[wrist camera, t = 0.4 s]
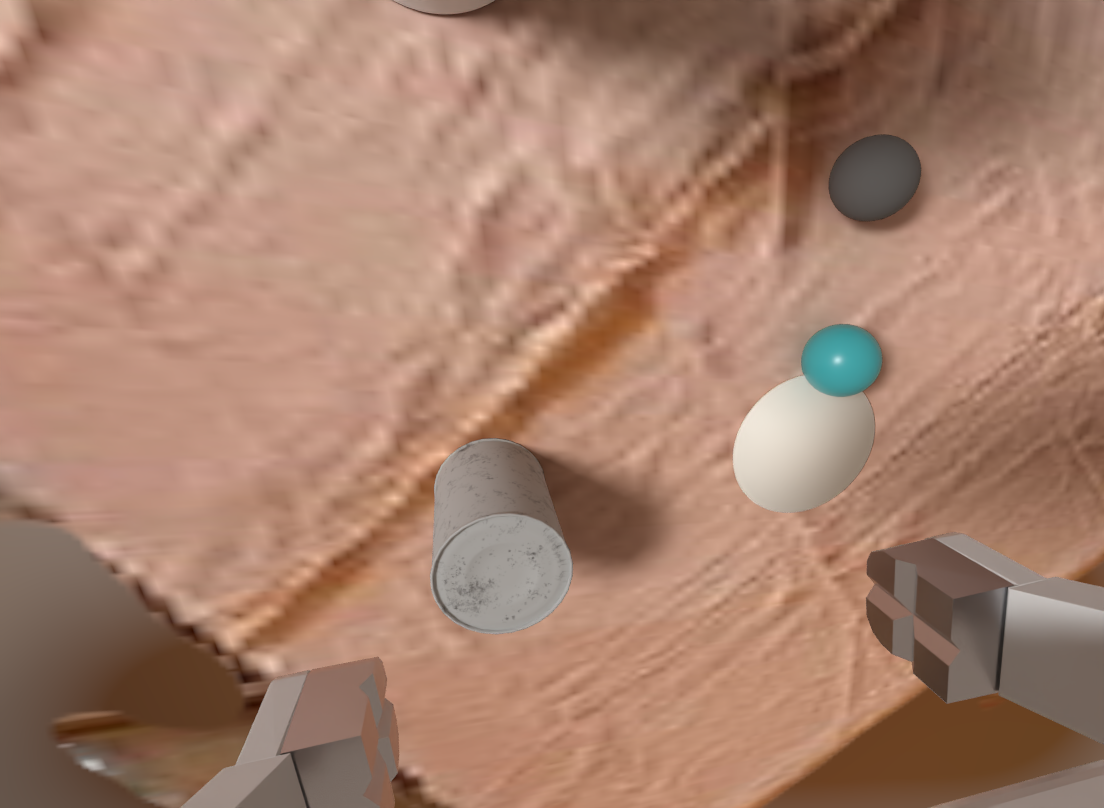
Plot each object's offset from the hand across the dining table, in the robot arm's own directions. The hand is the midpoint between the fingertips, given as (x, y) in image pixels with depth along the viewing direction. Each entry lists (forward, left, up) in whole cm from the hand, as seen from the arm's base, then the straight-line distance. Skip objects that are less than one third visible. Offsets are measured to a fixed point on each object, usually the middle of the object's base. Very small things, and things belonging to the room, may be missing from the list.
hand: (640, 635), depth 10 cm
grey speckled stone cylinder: (+18, -1, -38) cm, 42 cm away
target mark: (+16, +28, -38) cm, 50 cm away
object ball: (+7, +28, -35) cm, 46 cm away
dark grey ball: (-7, +28, -35) cm, 46 cm away
